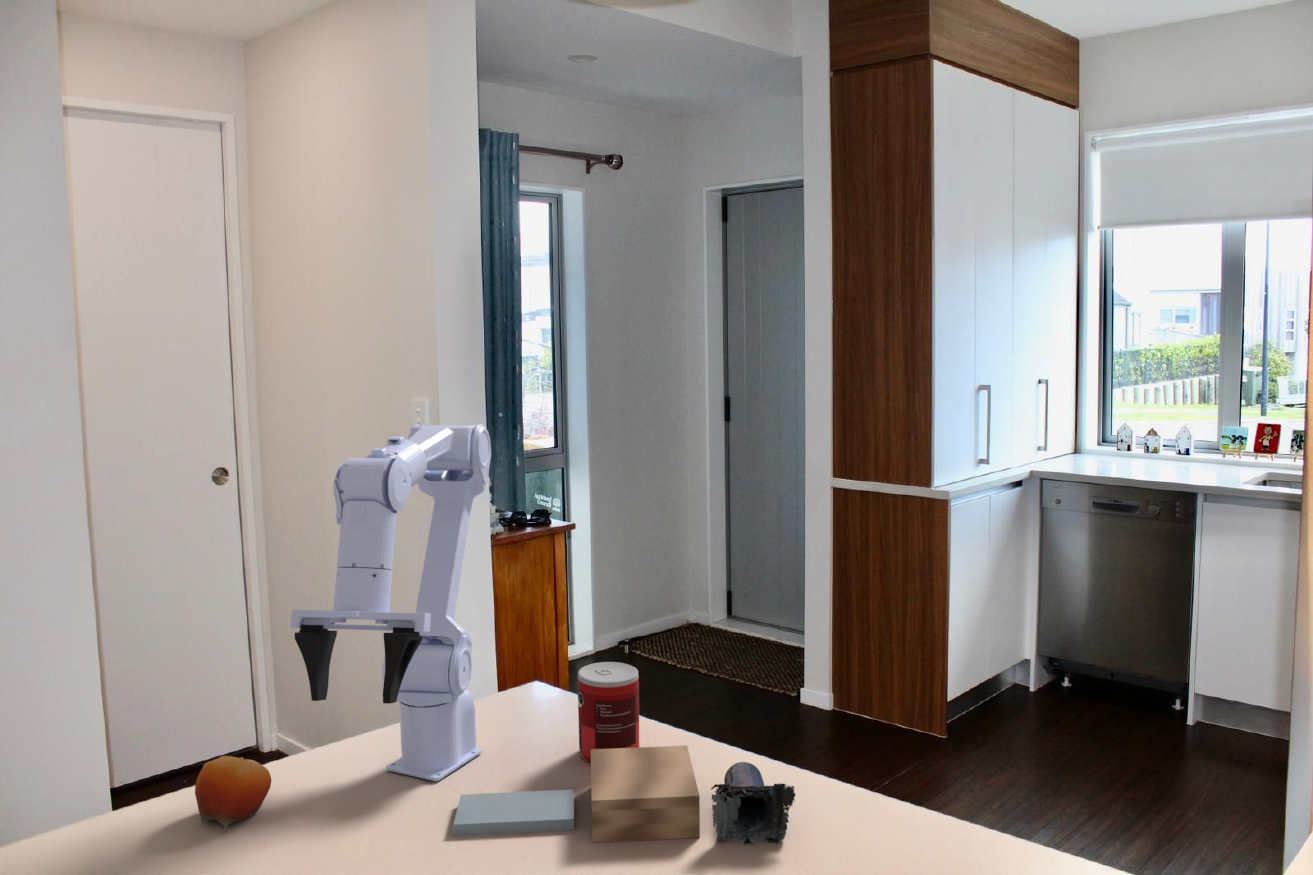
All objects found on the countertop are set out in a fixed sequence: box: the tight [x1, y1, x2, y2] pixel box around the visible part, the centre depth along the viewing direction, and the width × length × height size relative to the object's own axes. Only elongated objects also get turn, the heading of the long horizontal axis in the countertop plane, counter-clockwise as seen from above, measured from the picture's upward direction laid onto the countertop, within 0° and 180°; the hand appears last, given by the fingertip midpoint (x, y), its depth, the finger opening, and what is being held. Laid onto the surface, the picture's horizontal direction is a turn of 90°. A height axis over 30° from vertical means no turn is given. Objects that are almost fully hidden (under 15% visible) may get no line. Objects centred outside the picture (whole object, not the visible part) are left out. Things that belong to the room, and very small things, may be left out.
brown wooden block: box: [590, 745, 701, 844], centre depth 114 cm, size 12×13×5 cm
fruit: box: [194, 755, 272, 833], centre depth 114 cm, size 8×8×8 cm
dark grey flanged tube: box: [710, 761, 796, 846], centre depth 112 cm, size 9×8×12 cm
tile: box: [452, 789, 575, 837], centre depth 113 cm, size 13×7×2 cm, turn 94°
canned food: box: [577, 661, 640, 764], centre depth 129 cm, size 8×8×11 cm
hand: (354, 701), depth 104 cm, fingers open, 7 cm apart
